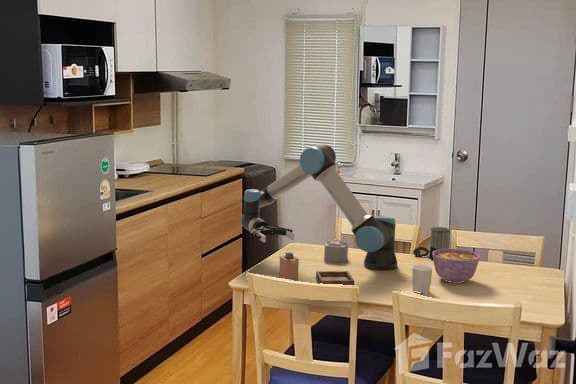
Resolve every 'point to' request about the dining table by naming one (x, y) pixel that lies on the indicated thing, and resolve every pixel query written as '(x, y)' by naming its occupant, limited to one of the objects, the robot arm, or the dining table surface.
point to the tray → (334, 277)
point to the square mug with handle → (289, 268)
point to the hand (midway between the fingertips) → (279, 238)
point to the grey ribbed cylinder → (435, 241)
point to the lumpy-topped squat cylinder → (336, 251)
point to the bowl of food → (455, 264)
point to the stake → (289, 255)
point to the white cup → (421, 278)
